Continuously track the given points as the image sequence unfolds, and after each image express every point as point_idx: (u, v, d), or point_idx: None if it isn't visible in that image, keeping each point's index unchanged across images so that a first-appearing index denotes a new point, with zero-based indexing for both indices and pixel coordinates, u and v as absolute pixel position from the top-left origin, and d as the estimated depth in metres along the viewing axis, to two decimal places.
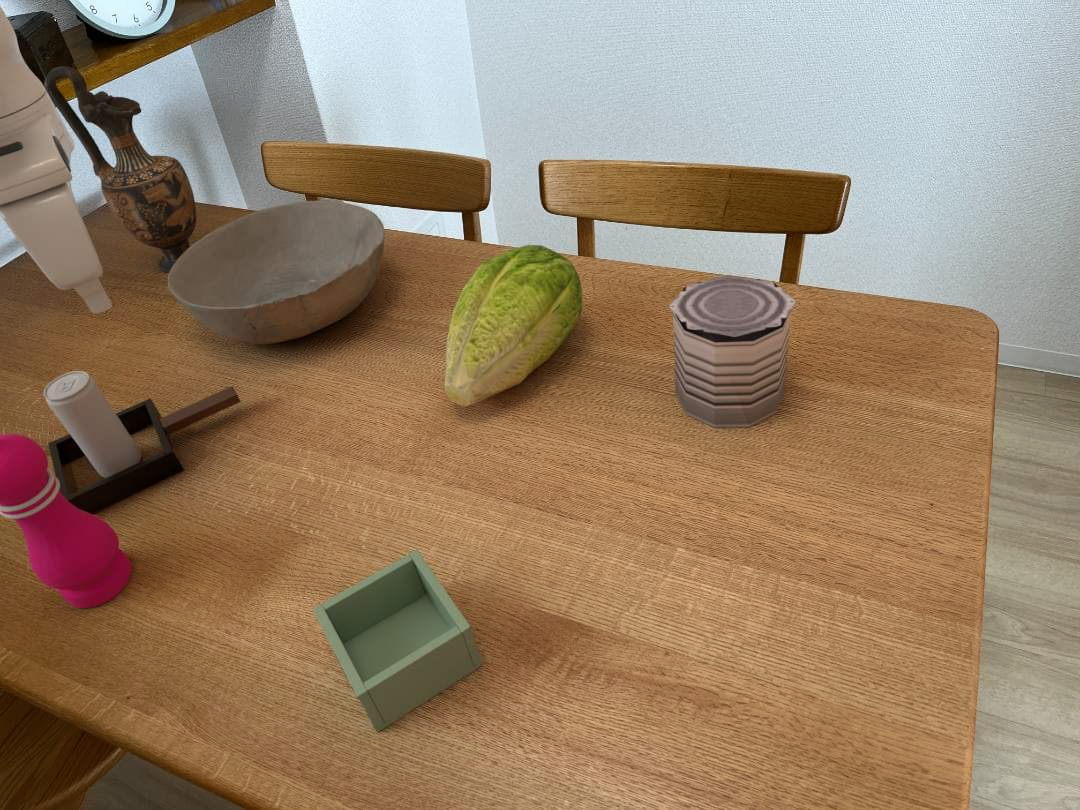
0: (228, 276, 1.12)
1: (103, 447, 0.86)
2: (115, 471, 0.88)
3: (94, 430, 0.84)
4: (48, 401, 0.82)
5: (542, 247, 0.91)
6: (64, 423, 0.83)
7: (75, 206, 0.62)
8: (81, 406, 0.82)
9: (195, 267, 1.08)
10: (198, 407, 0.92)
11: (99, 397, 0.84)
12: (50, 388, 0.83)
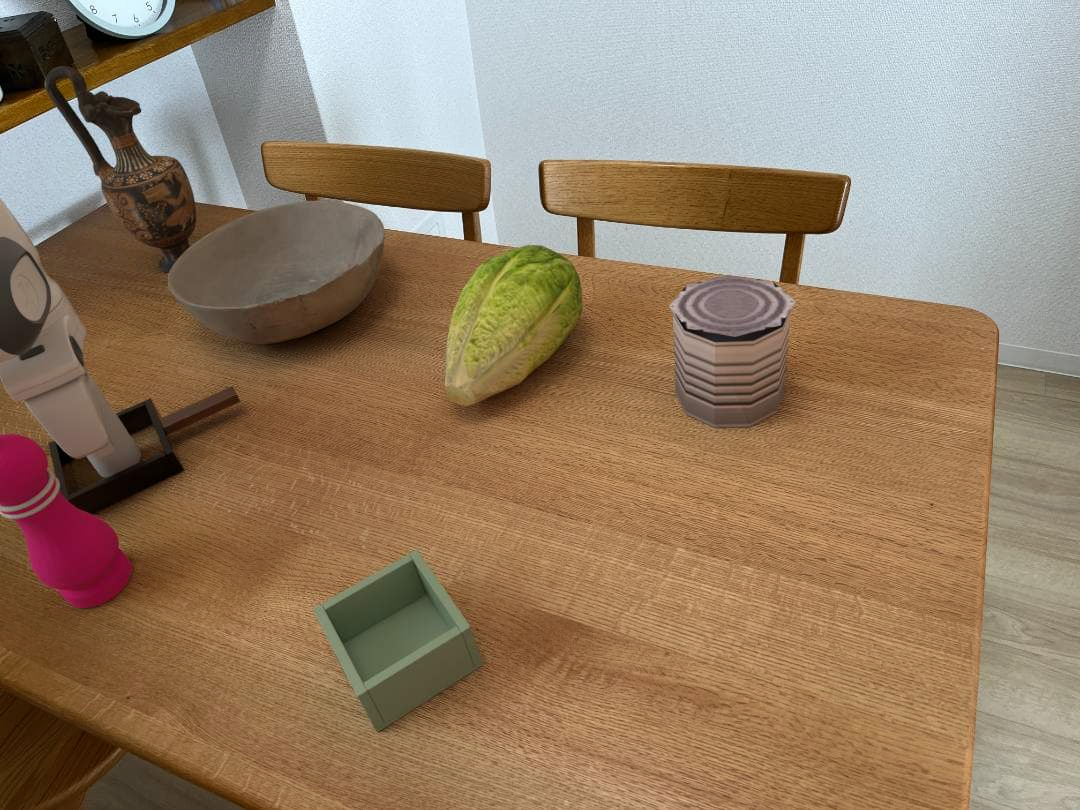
0: (228, 276, 1.12)
1: None
2: (115, 471, 0.88)
3: None
4: None
5: (542, 247, 0.91)
6: None
7: (87, 395, 0.75)
8: None
9: (195, 267, 1.08)
10: (198, 407, 0.92)
11: (99, 397, 0.84)
12: None
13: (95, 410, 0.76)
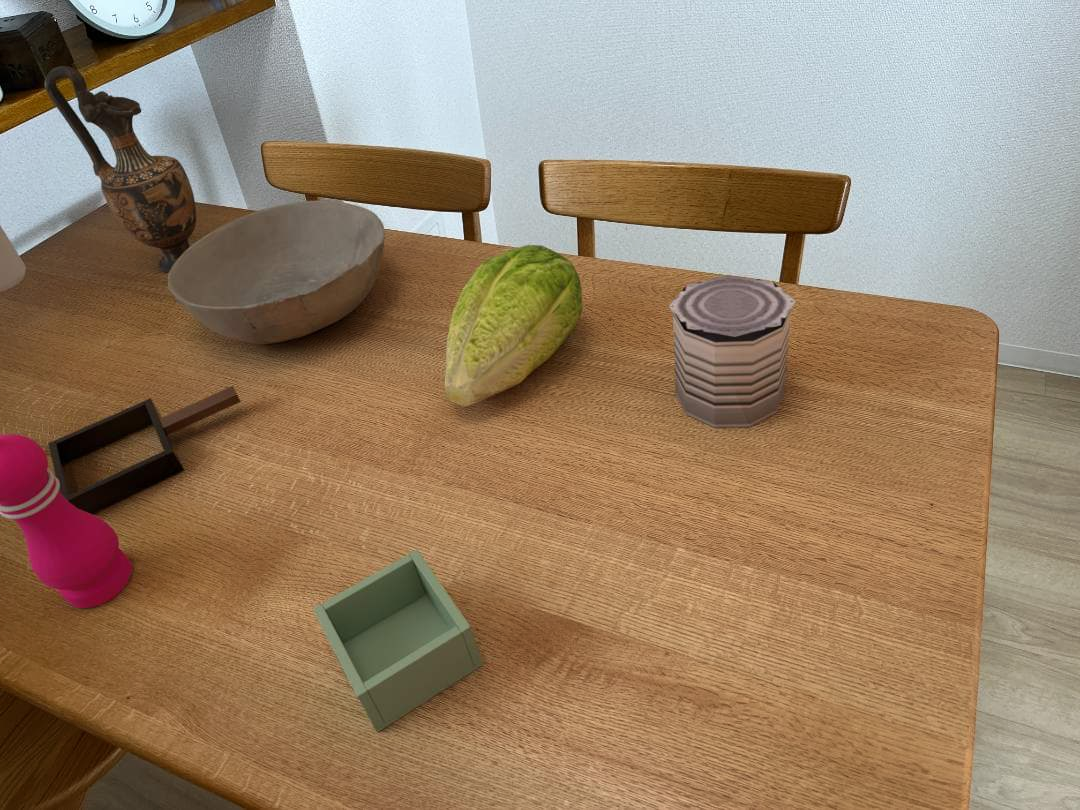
0: (228, 276, 1.12)
1: None
2: None
3: None
4: None
5: (542, 247, 0.91)
6: None
7: None
8: None
9: (195, 267, 1.08)
10: (198, 407, 0.92)
11: None
12: None
13: None
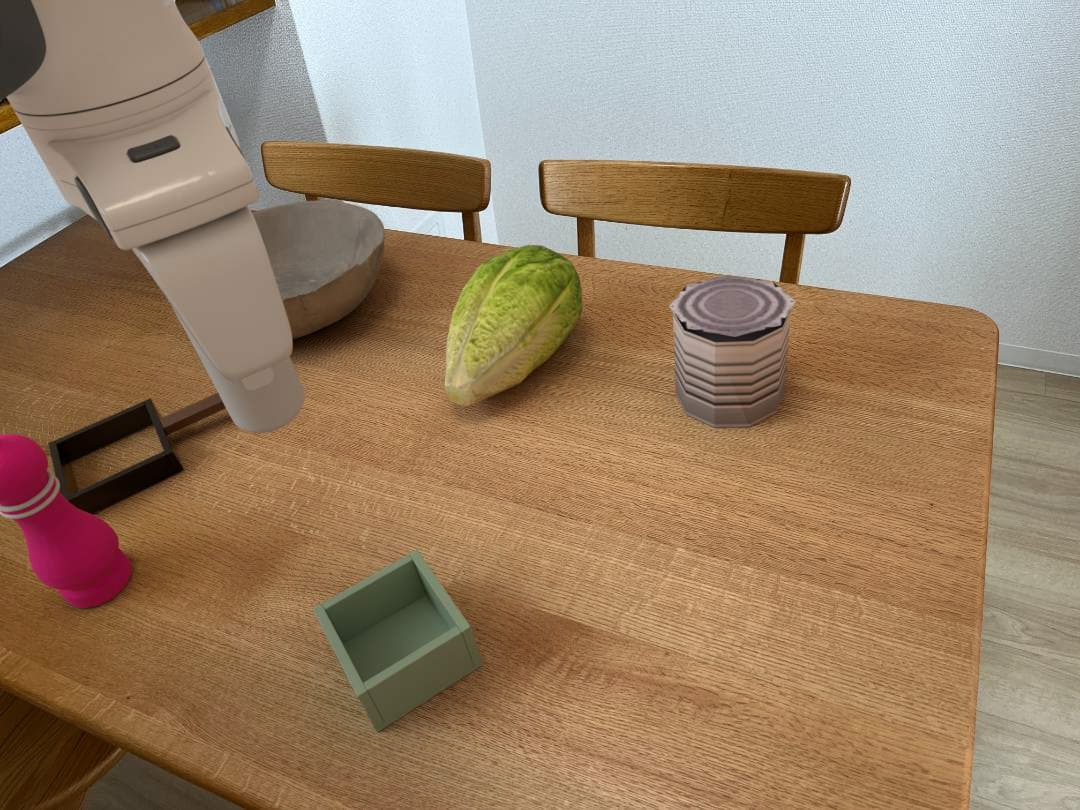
0: None
1: None
2: (267, 419, 0.49)
3: None
4: None
5: (542, 247, 0.91)
6: None
7: (263, 245, 0.37)
8: None
9: None
10: (198, 407, 0.92)
11: None
12: None
13: (275, 279, 0.37)
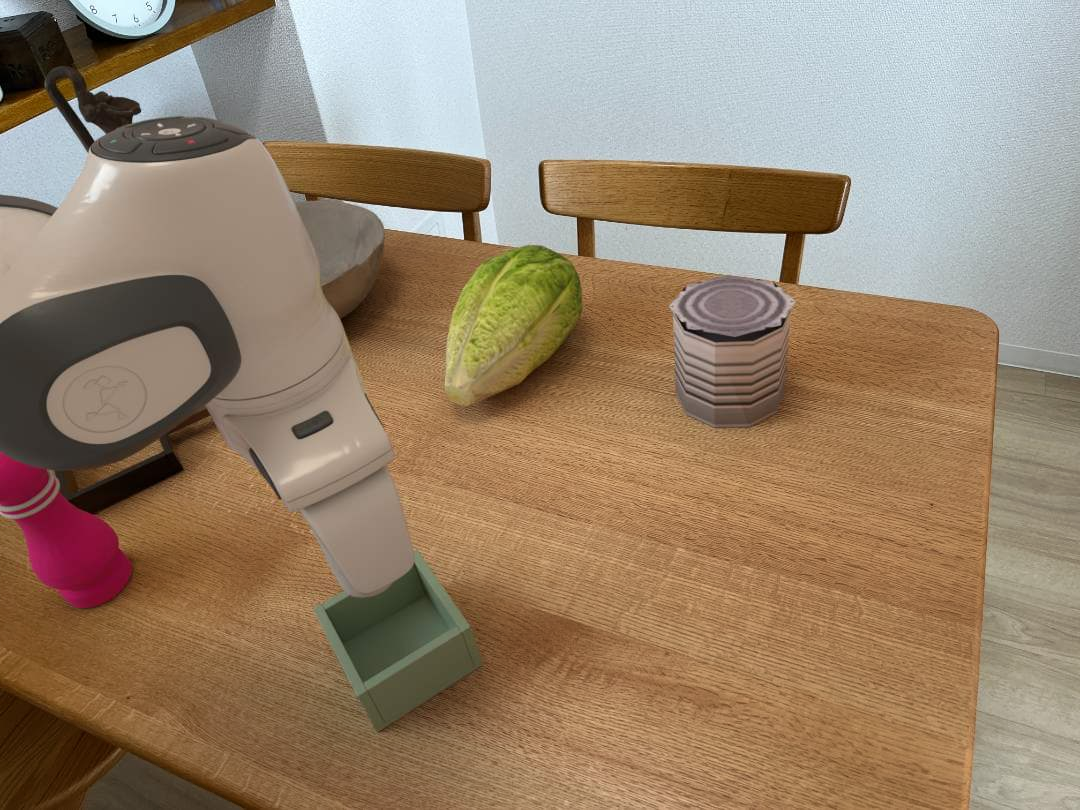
0: None
1: None
2: None
3: None
4: None
5: (542, 247, 0.91)
6: None
7: (397, 494, 0.45)
8: None
9: None
10: None
11: None
12: None
13: (404, 517, 0.46)
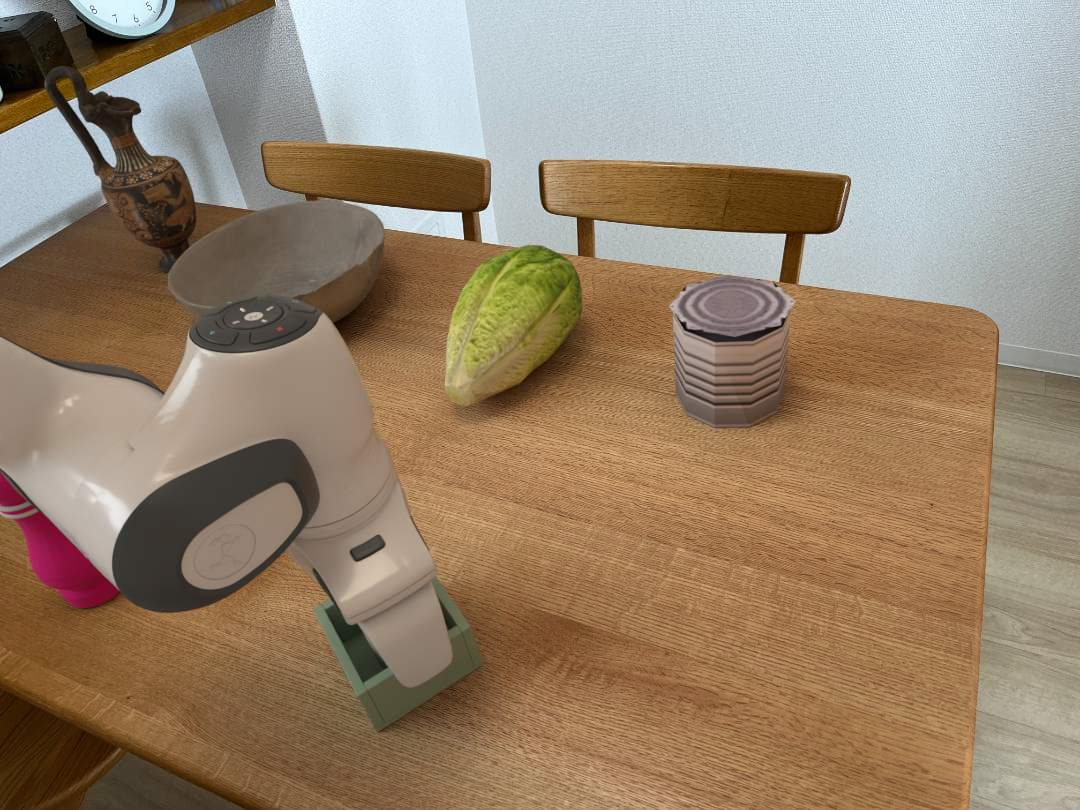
0: (228, 276, 1.12)
1: None
2: None
3: None
4: None
5: (542, 247, 0.91)
6: None
7: (439, 604, 0.52)
8: None
9: (195, 267, 1.08)
10: None
11: None
12: None
13: (445, 623, 0.53)
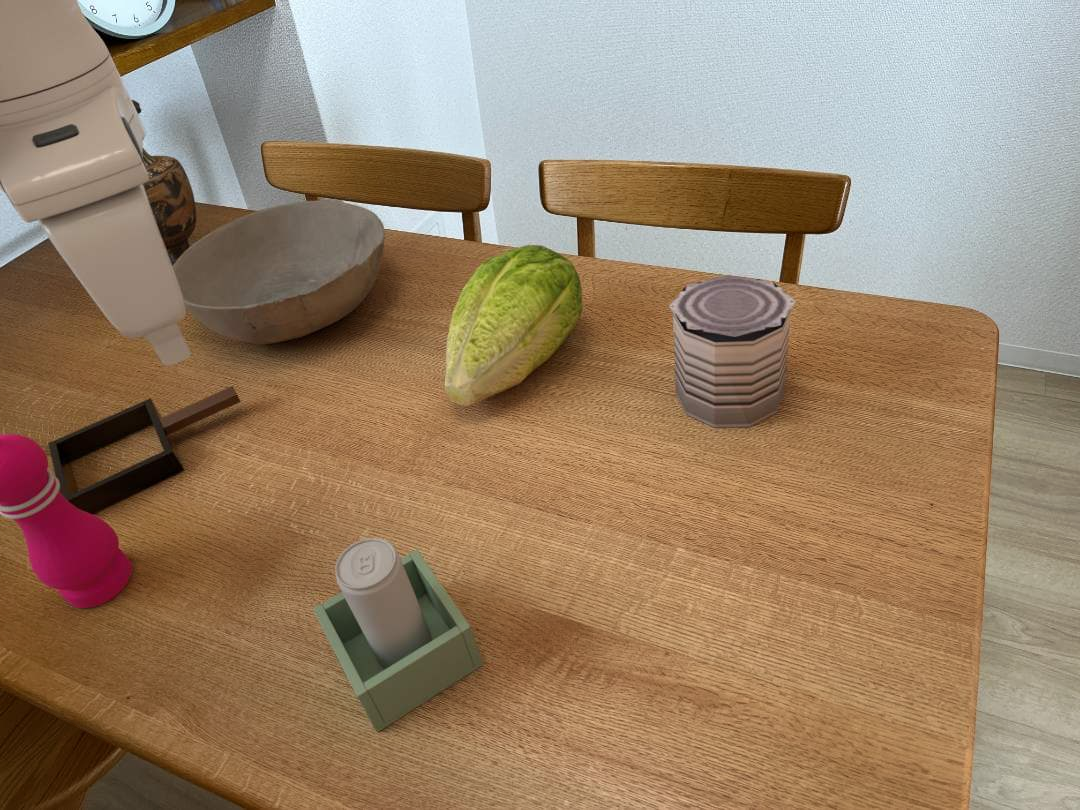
0: (228, 276, 1.12)
1: (402, 640, 0.62)
2: None
3: (396, 621, 0.61)
4: (345, 588, 0.58)
5: (542, 247, 0.91)
6: (359, 614, 0.60)
7: (153, 219, 0.42)
8: (388, 593, 0.59)
9: (195, 267, 1.08)
10: (198, 407, 0.92)
11: (404, 576, 0.60)
12: (342, 567, 0.59)
13: (165, 250, 0.43)
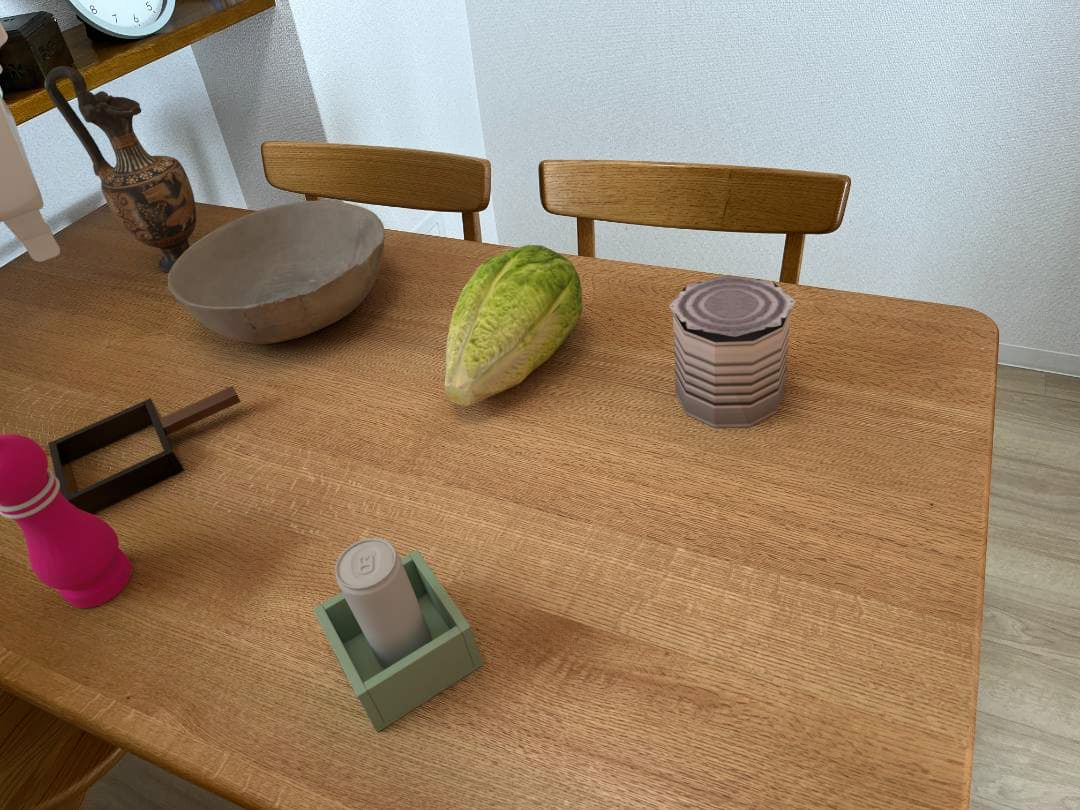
0: (228, 276, 1.12)
1: (402, 640, 0.62)
2: None
3: (396, 621, 0.61)
4: (345, 589, 0.58)
5: (542, 247, 0.91)
6: (359, 614, 0.60)
7: (1, 108, 0.46)
8: (388, 593, 0.59)
9: (195, 267, 1.08)
10: (198, 407, 0.92)
11: (404, 576, 0.60)
12: (342, 567, 0.59)
13: (15, 138, 0.47)
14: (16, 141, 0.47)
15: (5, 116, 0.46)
